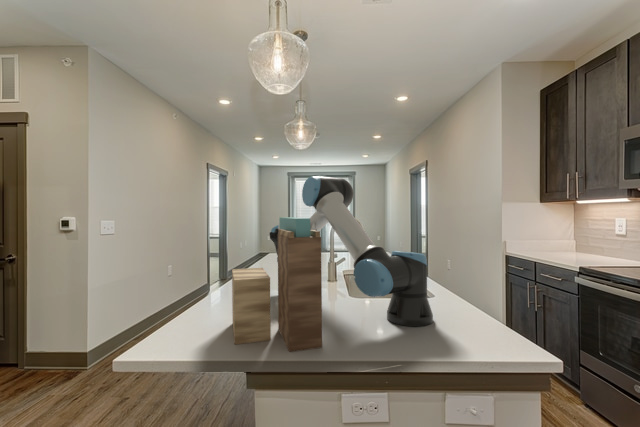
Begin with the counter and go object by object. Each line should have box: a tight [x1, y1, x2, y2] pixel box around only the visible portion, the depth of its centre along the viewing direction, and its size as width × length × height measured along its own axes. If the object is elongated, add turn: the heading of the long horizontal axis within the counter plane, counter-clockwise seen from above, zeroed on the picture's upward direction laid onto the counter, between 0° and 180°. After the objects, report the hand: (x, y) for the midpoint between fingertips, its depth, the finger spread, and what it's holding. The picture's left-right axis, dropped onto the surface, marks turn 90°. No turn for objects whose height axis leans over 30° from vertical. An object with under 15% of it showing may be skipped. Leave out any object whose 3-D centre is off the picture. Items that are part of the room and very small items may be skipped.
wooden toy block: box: [231, 267, 272, 345], centre depth 100 cm, size 18×10×18 cm, turn 17°
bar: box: [278, 216, 310, 237], centre depth 101 cm, size 26×4×5 cm, turn 17°
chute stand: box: [277, 229, 323, 353], centre depth 94 cm, size 17×9×32 cm, turn 17°
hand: (298, 225), depth 125 cm, fingers open, 13 cm apart
